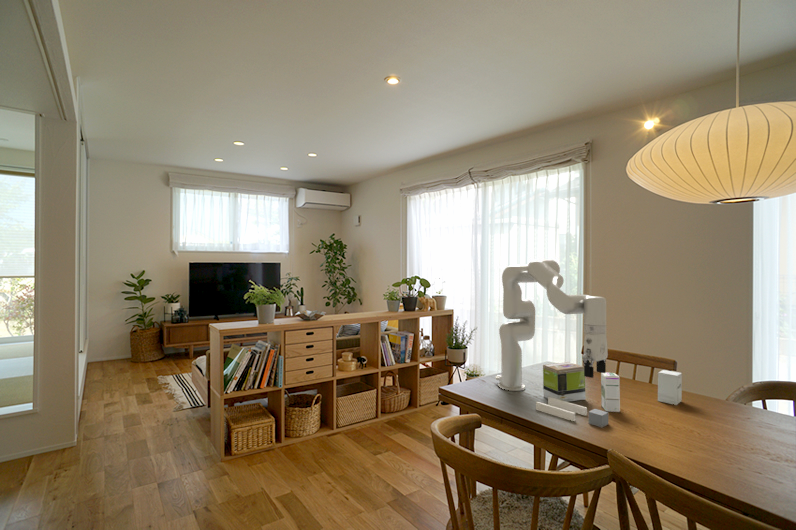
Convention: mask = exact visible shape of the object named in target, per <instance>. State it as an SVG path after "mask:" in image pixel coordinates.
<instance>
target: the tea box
mask: <svg viewBox="0 0 796 530" xmlns="http://www.w3.org/2000/svg"><path fill="white" fill-rule="evenodd" d="M542 378H543V384H542V387H543V388H542V390H543V397H544V398H546V399H548V397H551V398H555V399H559V400H562V401H566V402H569V403H571V402H575V401H582V400H586V399H587V397H586V376H584V365H579V364H576V363H574V362H570V361H566V362H565V361H564V362H556V363H550V364H543V365H542Z"/></svg>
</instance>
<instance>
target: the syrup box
mask: <svg viewBox="0 0 796 530" xmlns="http://www.w3.org/2000/svg"><path fill="white" fill-rule="evenodd" d="M620 378H621V377H620V376H619V375H618V374H616V372H607V371H606V373H600V383H601V385H600V389H601V391H600V392H601V396H600V399H601V401H600V402H601V408H603V411H605V412H610V413H611V412H613V413H614V412H615V413H620V411H621V393H620V392H621V389H620V388H621V387H620V386H621V385H620V381H621V380H620Z"/></svg>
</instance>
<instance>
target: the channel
mask: <svg viewBox="0 0 796 530" xmlns="http://www.w3.org/2000/svg"><path fill="white" fill-rule="evenodd" d="M535 410H537V411H539V412H542V413H546V414H549V415H551V416H554V417H558V418H561V419H565V420H568V421H570V420H571V421H570V422H573V421H574V422H576V414H579V415H582V416H588V408H587V407H586V406H583V405H579V404H576V403H574V402H573V403H572V402H566V401H562V400H559V399H555V398H551V397H548V398H547V404H546V403H543V402H539V401H536V402H535Z"/></svg>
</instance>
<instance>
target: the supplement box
mask: <svg viewBox="0 0 796 530" xmlns="http://www.w3.org/2000/svg"><path fill="white" fill-rule="evenodd" d="M682 375H683V373H682V372H678V371H672V370H666V369H662V370H660V371H659V372H657V402H661V403H666V404H669V405H673V404H674V406H678V405H679V404H680V403H681V402H682V401H683V400H682V397H683V396H682V395H683V394H682V393H683V392H682V388H683V385H682V384H683V380H682V379H683V376H682Z"/></svg>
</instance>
